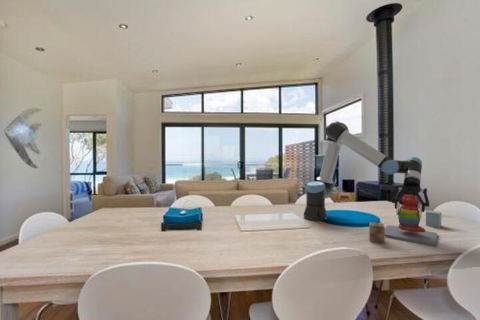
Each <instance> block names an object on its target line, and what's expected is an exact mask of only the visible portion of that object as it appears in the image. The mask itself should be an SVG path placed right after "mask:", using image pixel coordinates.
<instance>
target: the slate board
mask: <svg viewBox="0 0 480 320" xmlns="http://www.w3.org/2000/svg"><path fill="white" fill-rule="evenodd" d="M437 236H438V233H437V232H435V231H429V230H428V231H427V230H425V232H411V231H405V230H402V229H400V228H399V227H398V225H389V224H387V225H386V226H385V238H389V239H390V238H391V239H395V240H398V241H399V240H400V241H405V242H406V241H407V242H411V243H418V244H421V245H426V246H432V247H436V246H437Z"/></svg>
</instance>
